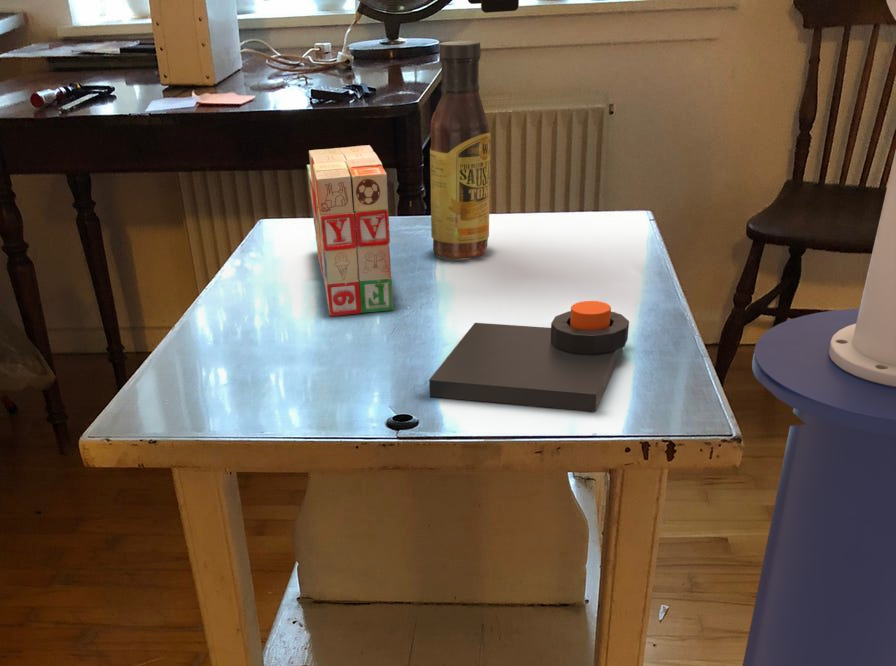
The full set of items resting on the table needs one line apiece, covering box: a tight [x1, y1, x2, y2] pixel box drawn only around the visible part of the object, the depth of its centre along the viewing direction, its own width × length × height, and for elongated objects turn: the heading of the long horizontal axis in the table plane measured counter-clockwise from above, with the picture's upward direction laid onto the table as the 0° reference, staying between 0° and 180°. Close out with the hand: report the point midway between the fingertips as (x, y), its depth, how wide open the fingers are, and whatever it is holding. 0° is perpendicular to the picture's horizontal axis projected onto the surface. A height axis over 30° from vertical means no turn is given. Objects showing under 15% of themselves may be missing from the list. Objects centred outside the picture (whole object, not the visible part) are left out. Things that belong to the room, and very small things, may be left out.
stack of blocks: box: [306, 144, 394, 317], centre depth 97 cm, size 21×6×12 cm, turn 8°
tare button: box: [570, 300, 612, 330], centre depth 79 cm, size 3×3×2 cm
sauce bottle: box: [429, 40, 491, 261], centre depth 101 cm, size 6×6×20 cm
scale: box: [428, 310, 630, 412], centre depth 79 cm, size 14×14×3 cm
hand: (492, 6), depth 88 cm, fingers open, 9 cm apart
